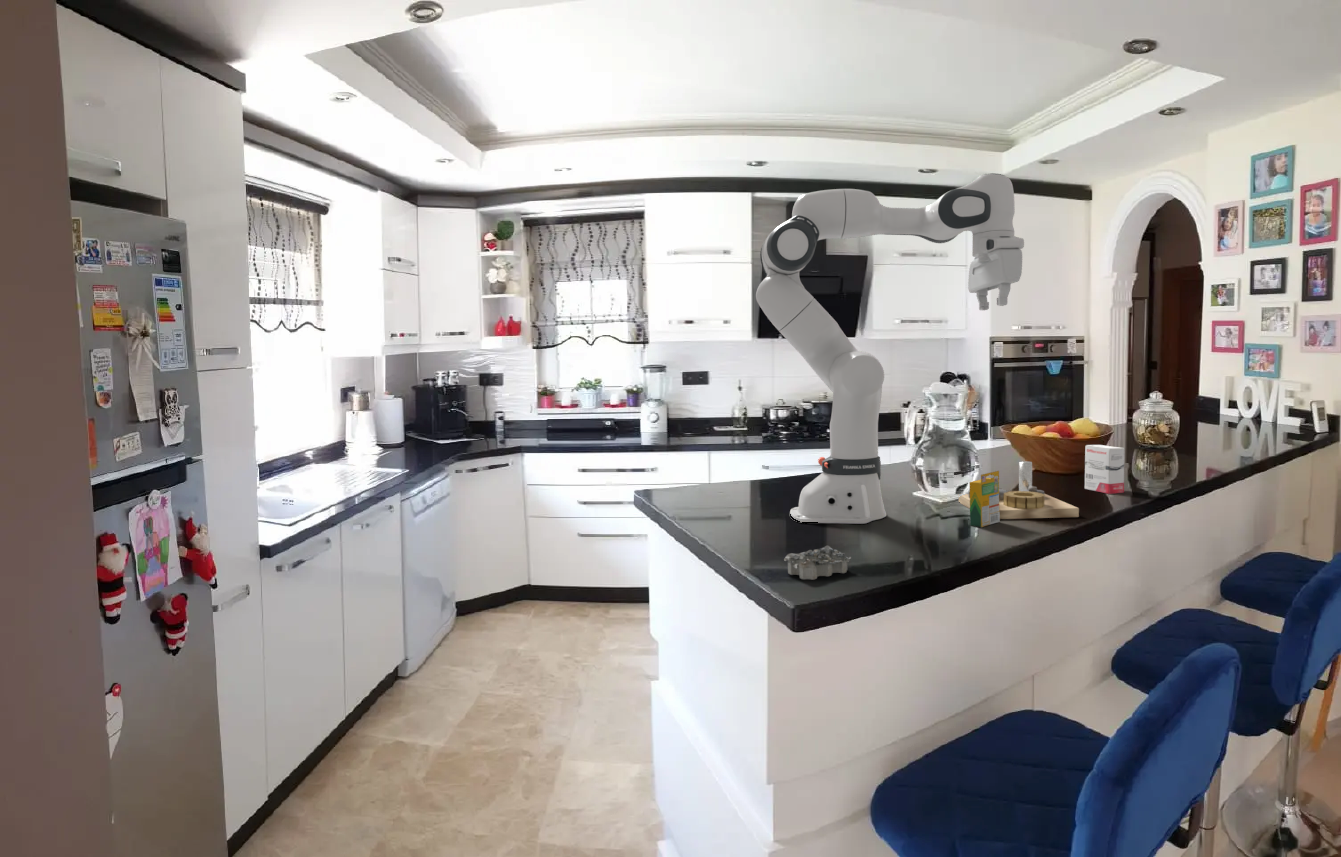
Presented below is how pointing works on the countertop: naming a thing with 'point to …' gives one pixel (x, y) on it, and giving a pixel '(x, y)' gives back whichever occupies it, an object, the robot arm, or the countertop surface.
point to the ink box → (1104, 469)
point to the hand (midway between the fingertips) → (992, 307)
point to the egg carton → (817, 563)
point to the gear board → (1033, 513)
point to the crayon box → (984, 500)
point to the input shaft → (1025, 475)
